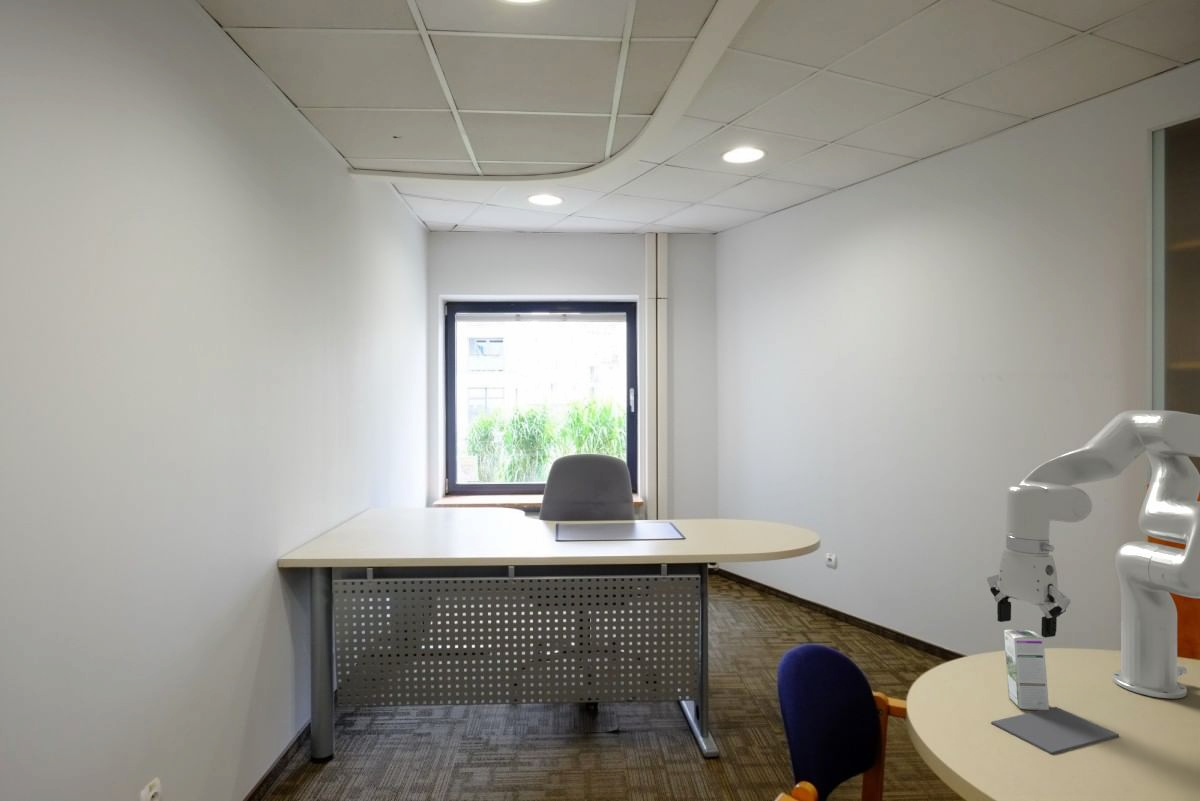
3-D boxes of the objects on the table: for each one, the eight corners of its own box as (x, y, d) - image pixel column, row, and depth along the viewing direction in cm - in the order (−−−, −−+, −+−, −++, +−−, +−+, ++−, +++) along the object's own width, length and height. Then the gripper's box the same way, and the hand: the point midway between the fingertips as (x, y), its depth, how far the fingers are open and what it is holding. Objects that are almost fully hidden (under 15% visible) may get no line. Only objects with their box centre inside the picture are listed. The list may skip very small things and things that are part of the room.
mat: (1055, 708, 137) (1055, 706, 137) (1118, 736, 126) (1118, 734, 126) (991, 723, 131) (991, 721, 131) (1051, 754, 119) (1051, 752, 119)
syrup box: (1050, 710, 135) (1046, 637, 136) (1018, 709, 136) (1013, 636, 137) (1037, 699, 140) (1033, 629, 141) (1006, 698, 142) (1003, 628, 142)
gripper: (1082, 553, 131) (1080, 641, 131) (1002, 536, 147) (1000, 614, 147) (1055, 556, 129) (1054, 645, 129) (977, 538, 145) (975, 617, 145)
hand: (1025, 628), depth 138 cm, fingers open, 9 cm apart
